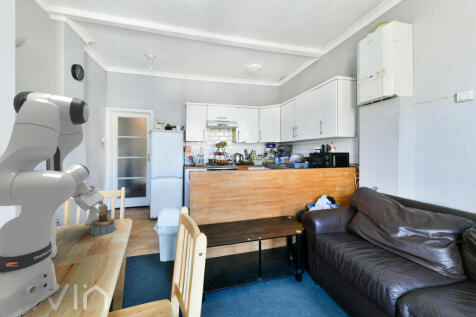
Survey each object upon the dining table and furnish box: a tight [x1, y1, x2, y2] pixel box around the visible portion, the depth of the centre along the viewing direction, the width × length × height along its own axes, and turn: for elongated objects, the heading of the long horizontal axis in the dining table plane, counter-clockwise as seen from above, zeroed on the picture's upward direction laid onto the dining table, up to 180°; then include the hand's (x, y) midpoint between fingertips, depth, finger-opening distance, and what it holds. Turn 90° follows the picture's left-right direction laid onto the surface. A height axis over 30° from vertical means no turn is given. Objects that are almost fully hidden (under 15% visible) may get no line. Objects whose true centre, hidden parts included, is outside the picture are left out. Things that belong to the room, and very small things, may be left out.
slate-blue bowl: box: [90, 221, 116, 236], centre depth 112 cm, size 11×11×4 cm
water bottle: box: [50, 212, 58, 259], centre depth 82 cm, size 7×7×25 cm
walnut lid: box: [90, 205, 116, 227], centre depth 112 cm, size 11×11×9 cm
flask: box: [85, 209, 99, 226], centre depth 124 cm, size 7×7×10 cm
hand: (102, 209), depth 112 cm, fingers open, 8 cm apart
